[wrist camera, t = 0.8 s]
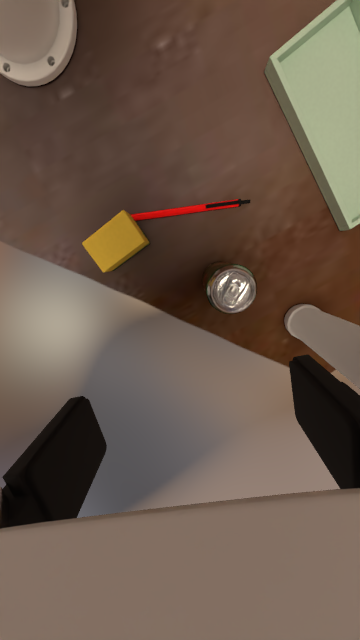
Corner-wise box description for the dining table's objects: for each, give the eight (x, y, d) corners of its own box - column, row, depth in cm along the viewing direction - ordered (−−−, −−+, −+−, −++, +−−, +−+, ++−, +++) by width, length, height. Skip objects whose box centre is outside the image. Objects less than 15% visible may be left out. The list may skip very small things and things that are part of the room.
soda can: (242, 269, 32) (269, 276, 21) (227, 301, 34) (245, 324, 22) (210, 256, 32) (220, 256, 21) (196, 288, 34) (199, 305, 22)
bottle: (323, 308, 33) (662, 442, 9) (308, 339, 35) (568, 524, 11) (290, 298, 33) (548, 409, 9) (277, 329, 35) (468, 496, 11)
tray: (263, 71, 26) (269, 56, 24) (348, 1, 24) (362, -22, 22) (339, 231, 30) (350, 229, 28) (417, 182, 28) (434, 176, 26)
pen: (249, 205, 30) (251, 203, 29) (113, 224, 32) (110, 223, 31) (248, 198, 30) (251, 196, 29) (112, 217, 32) (109, 216, 31)
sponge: (94, 244, 33) (81, 243, 29) (131, 215, 31) (123, 209, 27) (113, 270, 34) (103, 272, 30) (150, 243, 32) (144, 241, 28)
